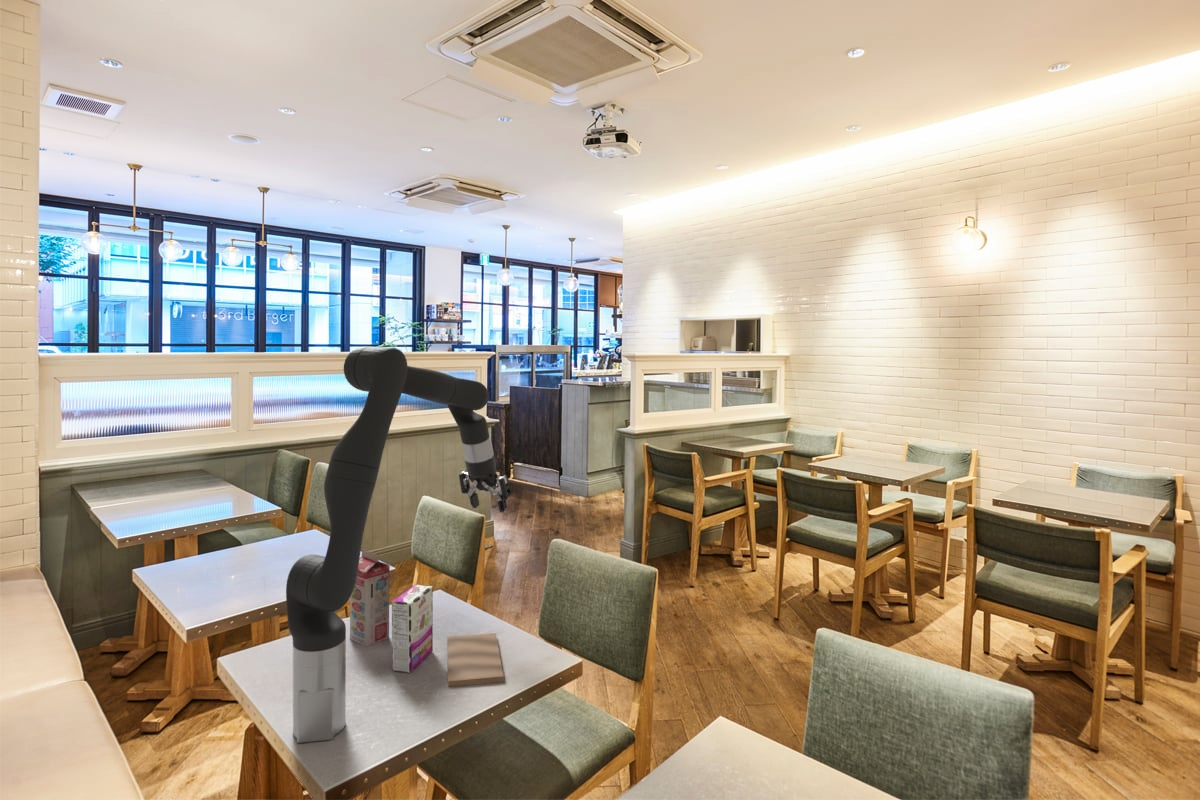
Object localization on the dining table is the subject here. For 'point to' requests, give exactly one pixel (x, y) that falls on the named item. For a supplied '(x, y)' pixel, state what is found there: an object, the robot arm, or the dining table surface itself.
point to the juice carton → (370, 601)
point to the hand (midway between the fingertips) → (489, 508)
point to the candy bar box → (412, 628)
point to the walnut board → (473, 660)
